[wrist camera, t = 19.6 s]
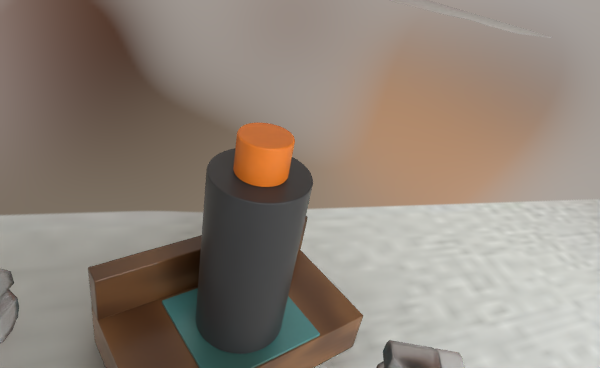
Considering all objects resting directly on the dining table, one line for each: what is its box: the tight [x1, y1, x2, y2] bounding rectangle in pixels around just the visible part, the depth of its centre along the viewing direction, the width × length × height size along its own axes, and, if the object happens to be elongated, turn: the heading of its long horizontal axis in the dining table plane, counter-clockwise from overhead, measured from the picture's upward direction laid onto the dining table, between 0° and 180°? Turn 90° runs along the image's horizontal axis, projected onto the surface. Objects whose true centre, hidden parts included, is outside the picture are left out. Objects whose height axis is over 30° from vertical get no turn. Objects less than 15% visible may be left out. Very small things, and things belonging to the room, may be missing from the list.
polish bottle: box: [196, 123, 313, 354], centre depth 24 cm, size 5×5×12 cm
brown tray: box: [88, 216, 363, 368], centre depth 28 cm, size 14×8×6 cm, turn 126°
